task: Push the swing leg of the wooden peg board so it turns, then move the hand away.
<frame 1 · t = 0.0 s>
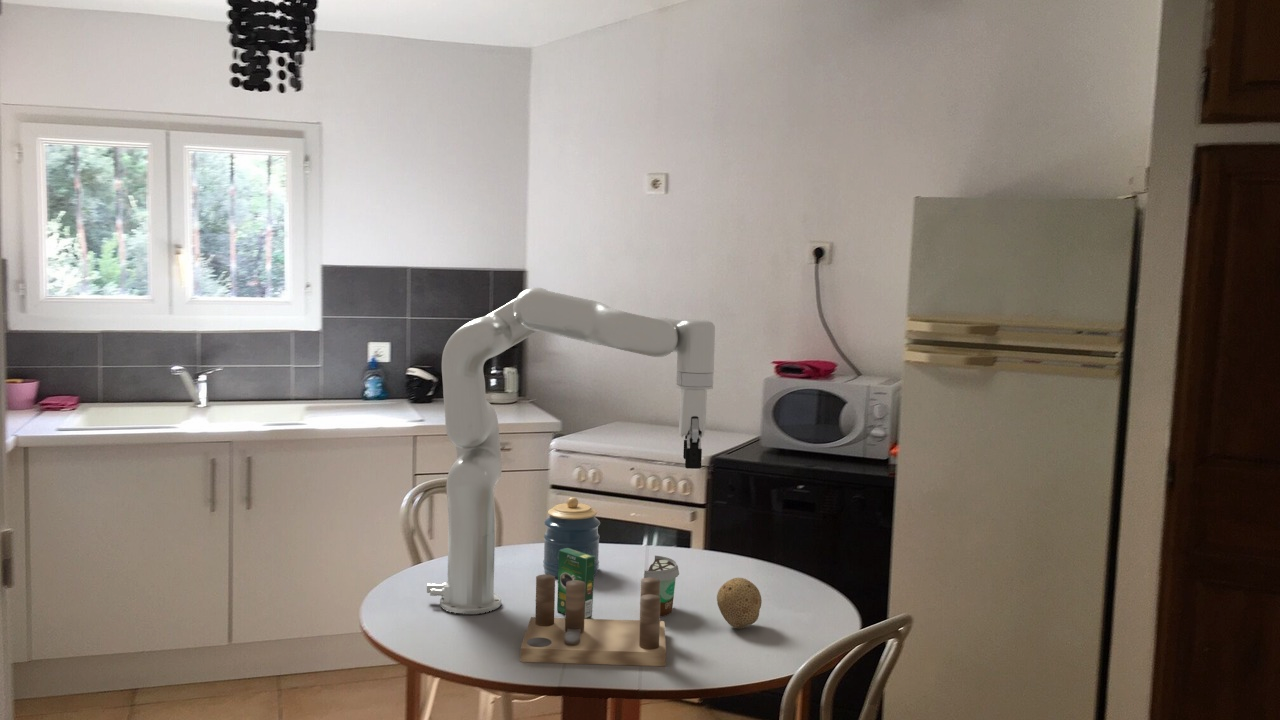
hand: (692, 463, 205), 31 cm above the table, fingers open, 9 cm apart
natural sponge: (738, 627, 200), on the table
swing leg: (574, 611, 184), point 7 cm above the table, hinge at 0.0°
coffee box: (574, 616, 204), on the table
wooden peg board: (595, 647, 187), on the table
canister: (570, 572, 233), on the table
food container: (662, 612, 208), on the table
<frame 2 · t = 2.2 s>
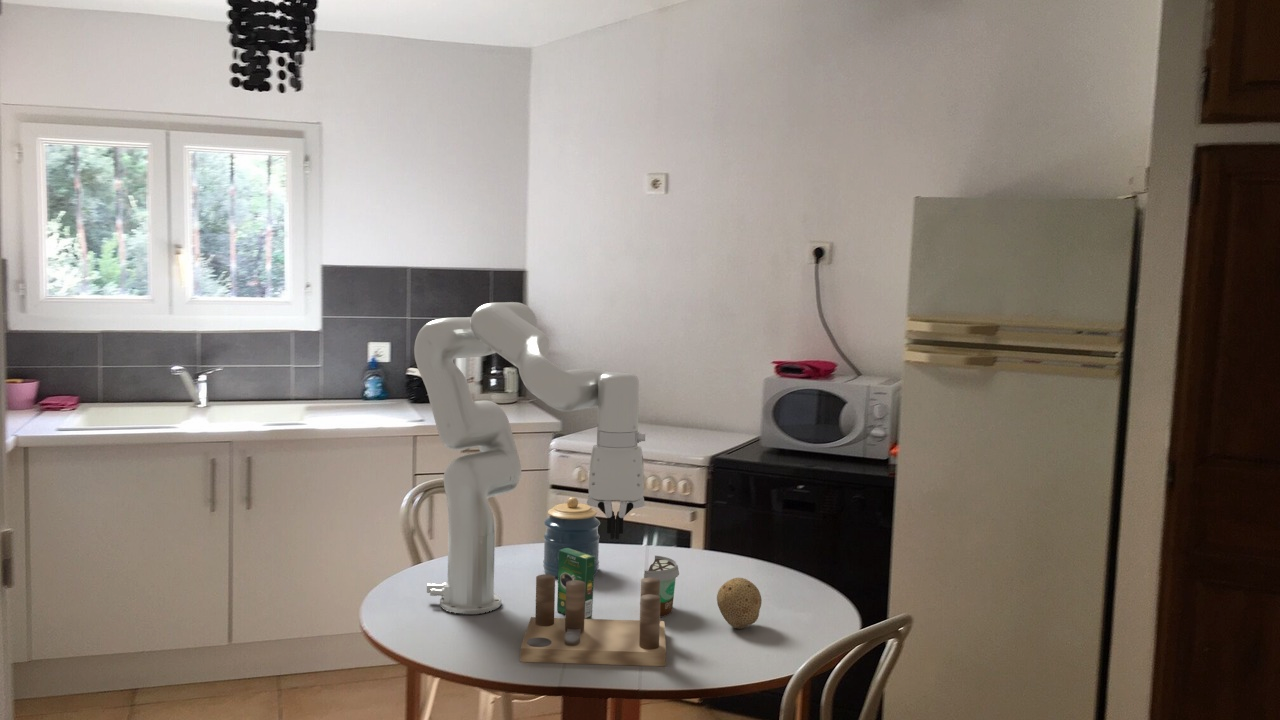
hand: (614, 537, 186), 21 cm above the table, fingers closed
nothing on the table moved.
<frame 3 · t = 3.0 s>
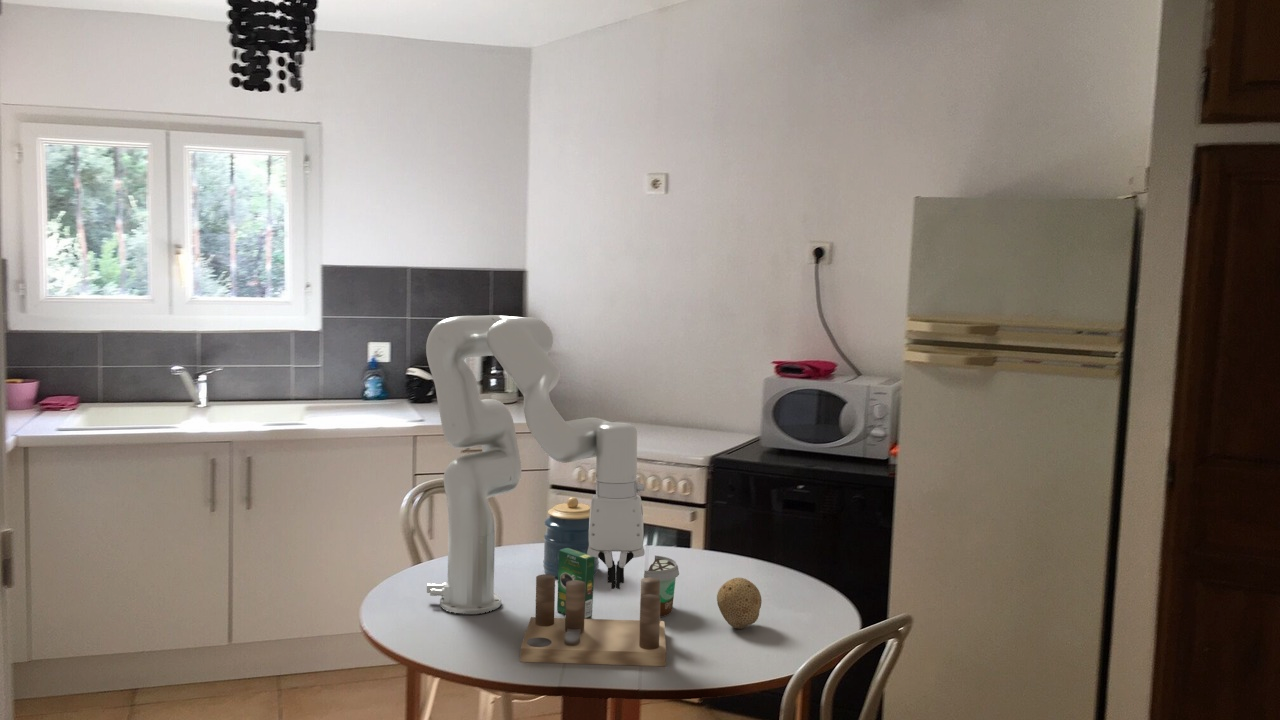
hand: (615, 586, 186), 12 cm above the table, fingers closed
nothing on the table moved.
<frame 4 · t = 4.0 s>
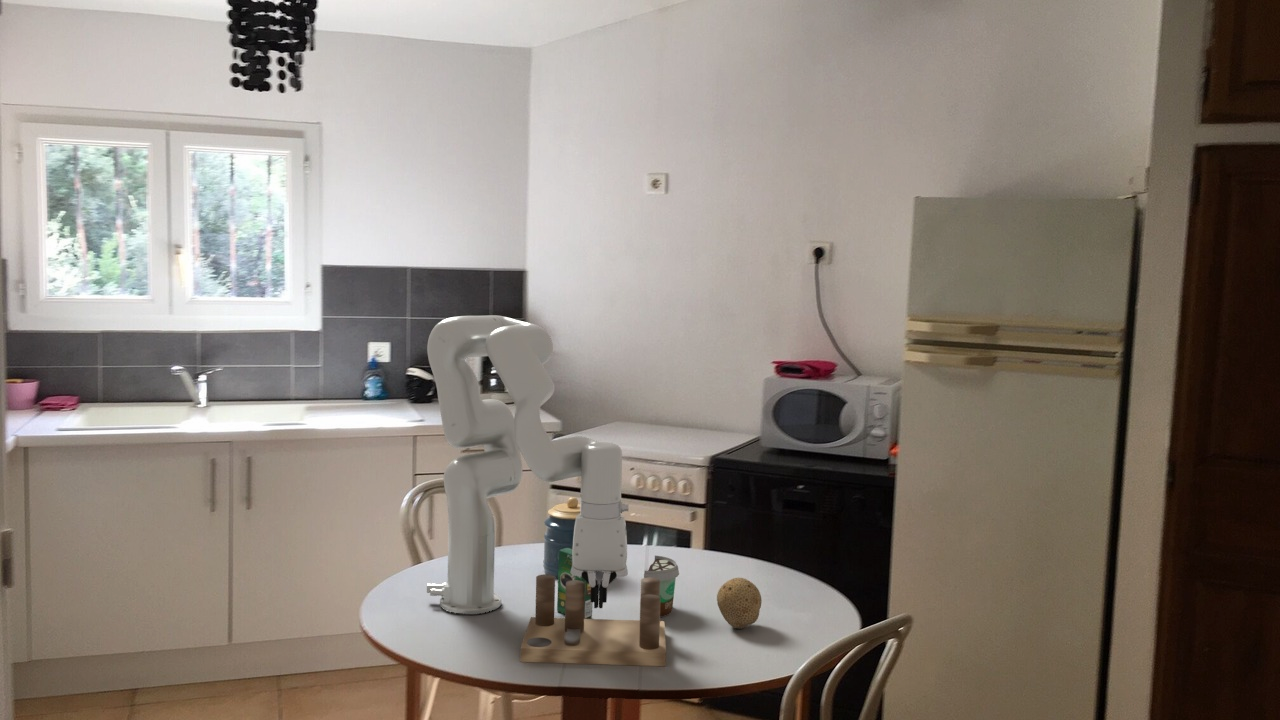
hand: (598, 605, 187), 8 cm above the table, fingers closed
swing leg: (573, 611, 184), point 7 cm above the table, hinge at 0.6°, touching gripper
everything else where it was.
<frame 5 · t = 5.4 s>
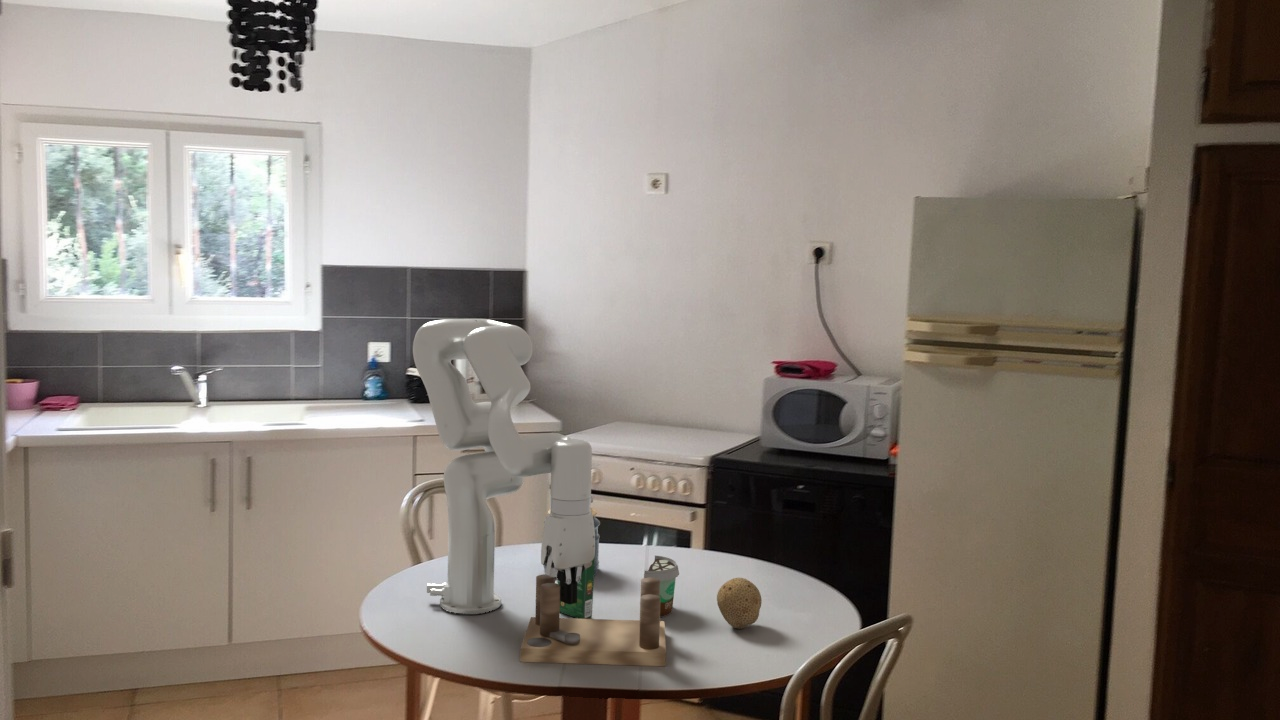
hand: (568, 601, 188), 8 cm above the table, fingers closed
swing leg: (560, 613, 183), point 7 cm above the table, hinge at 48.8°, touching gripper
everything else where it was.
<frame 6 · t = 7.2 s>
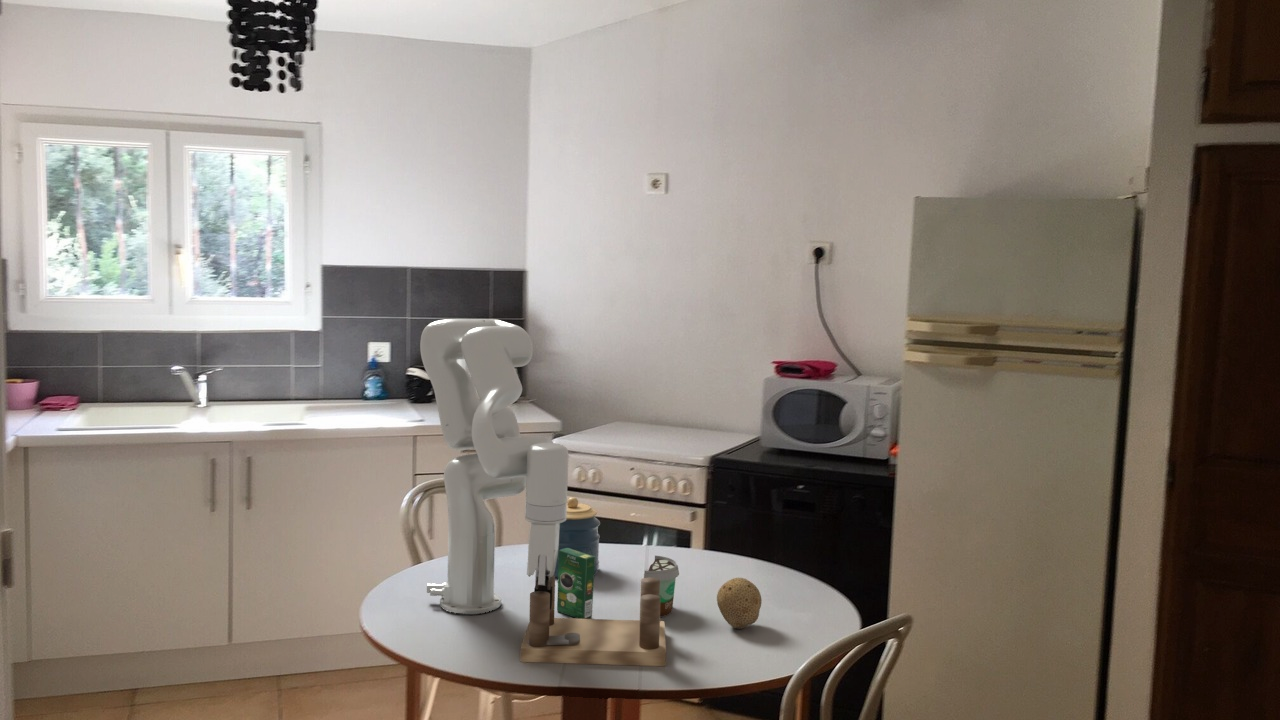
hand: (542, 608, 185), 8 cm above the table, fingers closed
swing leg: (555, 618, 181), point 7 cm above the table, hinge at 98.8°, touching gripper
everything else where it was.
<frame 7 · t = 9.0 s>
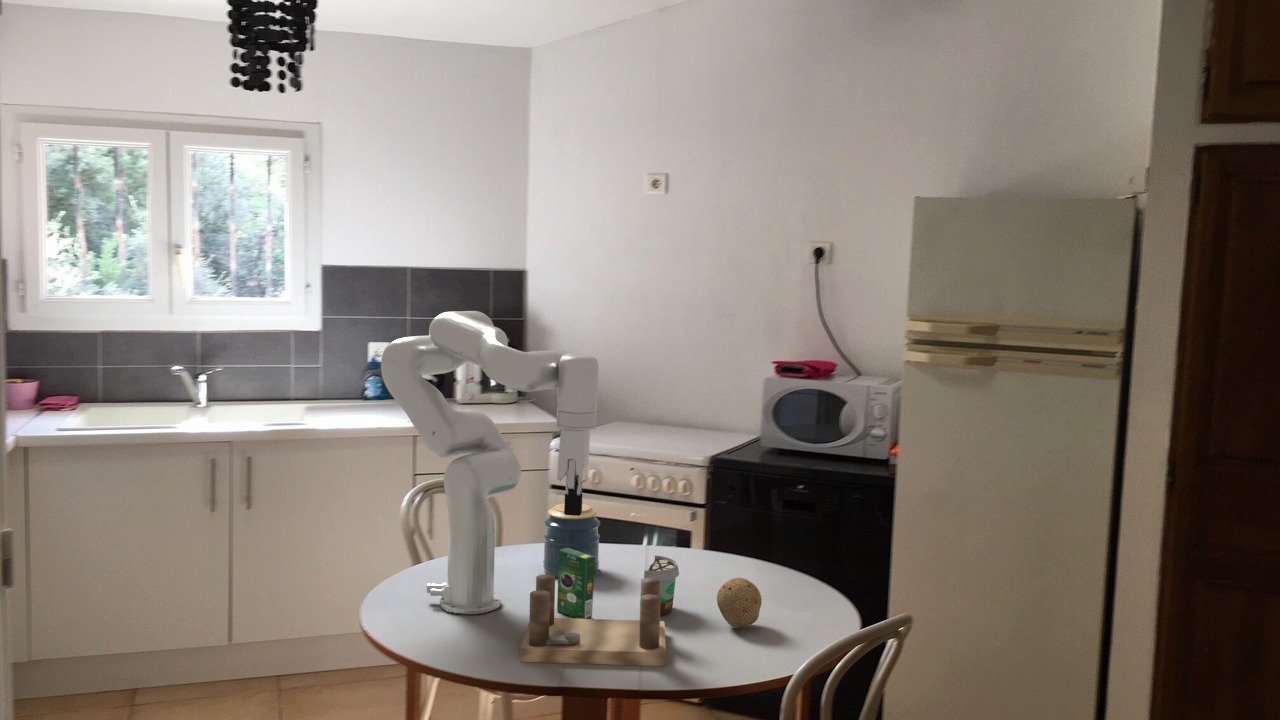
hand: (572, 514, 192), 23 cm above the table, fingers closed
swing leg: (555, 617, 181), point 7 cm above the table, hinge at 95.0°
everything else where it was.
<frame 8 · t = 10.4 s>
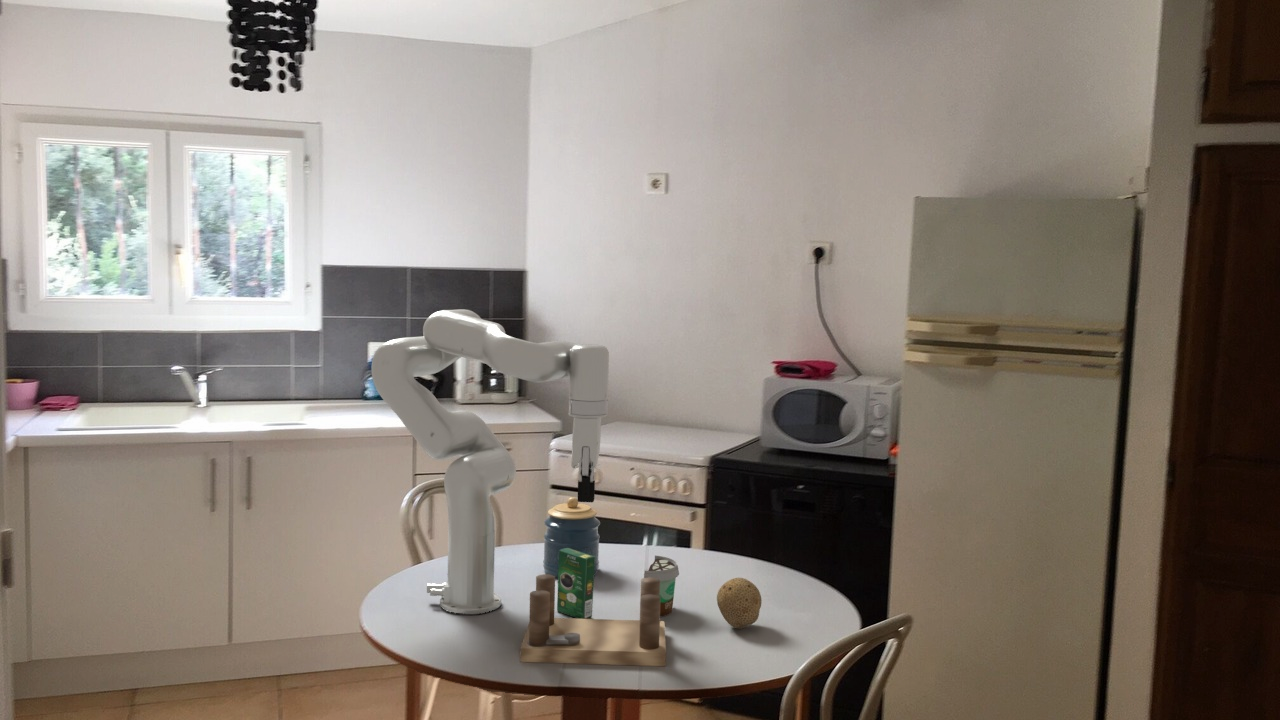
hand: (585, 501, 195), 25 cm above the table, fingers closed
nothing on the table moved.
at the end: swing leg at +95° (first picture: +0°); the gripper is holding nothing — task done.
